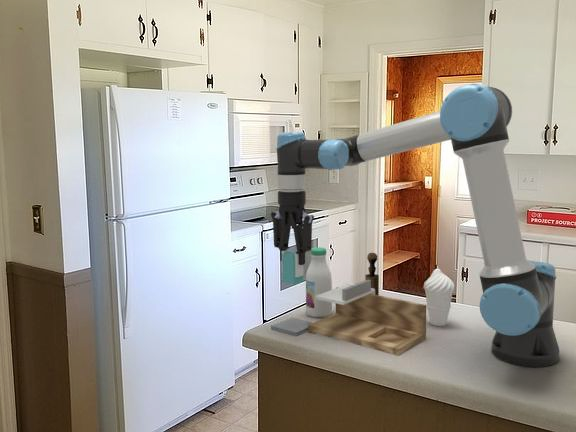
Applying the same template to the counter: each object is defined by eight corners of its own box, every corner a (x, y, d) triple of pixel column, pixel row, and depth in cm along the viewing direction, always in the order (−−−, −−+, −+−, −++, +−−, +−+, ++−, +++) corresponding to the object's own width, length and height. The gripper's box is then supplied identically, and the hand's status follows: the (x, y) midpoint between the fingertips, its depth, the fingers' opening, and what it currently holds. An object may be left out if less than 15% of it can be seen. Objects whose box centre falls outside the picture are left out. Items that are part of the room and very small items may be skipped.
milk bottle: (332, 310, 174) (331, 245, 171) (331, 318, 167) (331, 251, 164) (307, 309, 175) (306, 245, 172) (305, 317, 167) (304, 251, 164)
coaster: (316, 327, 160) (316, 323, 159) (296, 336, 153) (295, 332, 153) (292, 320, 165) (292, 317, 165) (271, 329, 159) (271, 325, 158)
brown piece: (425, 340, 148) (426, 305, 147) (398, 357, 138) (398, 319, 136) (338, 318, 166) (337, 287, 165) (308, 331, 156) (307, 298, 154)
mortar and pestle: (357, 309, 175) (357, 251, 172) (376, 306, 177) (377, 249, 174) (367, 315, 169) (367, 256, 166) (386, 313, 170) (387, 254, 168)
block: (303, 281, 157) (302, 252, 156) (293, 284, 154) (293, 255, 153) (292, 278, 160) (291, 250, 159) (282, 281, 157) (282, 253, 156)
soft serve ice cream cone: (459, 327, 157) (461, 270, 155) (434, 331, 154) (435, 274, 152) (441, 318, 165) (442, 264, 163) (416, 322, 162) (417, 267, 160)
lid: (374, 316, 159) (375, 278, 157) (343, 331, 148) (343, 290, 146) (348, 310, 165) (348, 273, 163) (315, 324, 154) (315, 284, 152)
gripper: (325, 190, 151) (325, 276, 154) (277, 187, 162) (278, 267, 165) (307, 193, 145) (308, 282, 149) (259, 189, 156) (260, 272, 160)
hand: (292, 274), depth 157 cm, fingers closed on block, 4 cm apart
